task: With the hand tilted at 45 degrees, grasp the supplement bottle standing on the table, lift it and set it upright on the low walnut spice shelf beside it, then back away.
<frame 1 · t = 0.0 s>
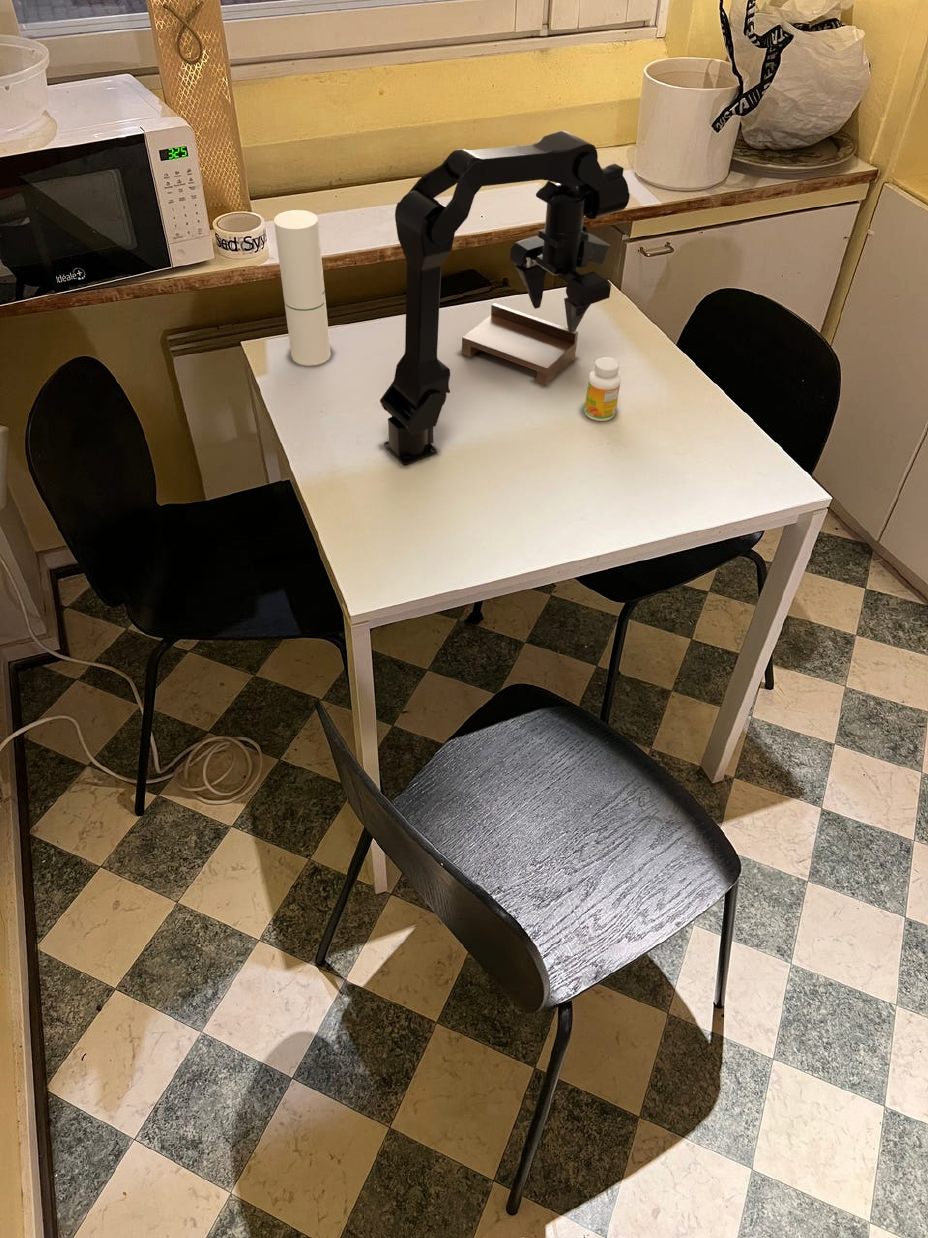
hand: (554, 319, 150), 15 cm above the table, tool pointing down, fingers open, 9 cm apart
supplement bottle: (599, 413, 158), on the table
cylindrical container: (311, 355, 168), on the table
shelf: (518, 356, 169), on the table
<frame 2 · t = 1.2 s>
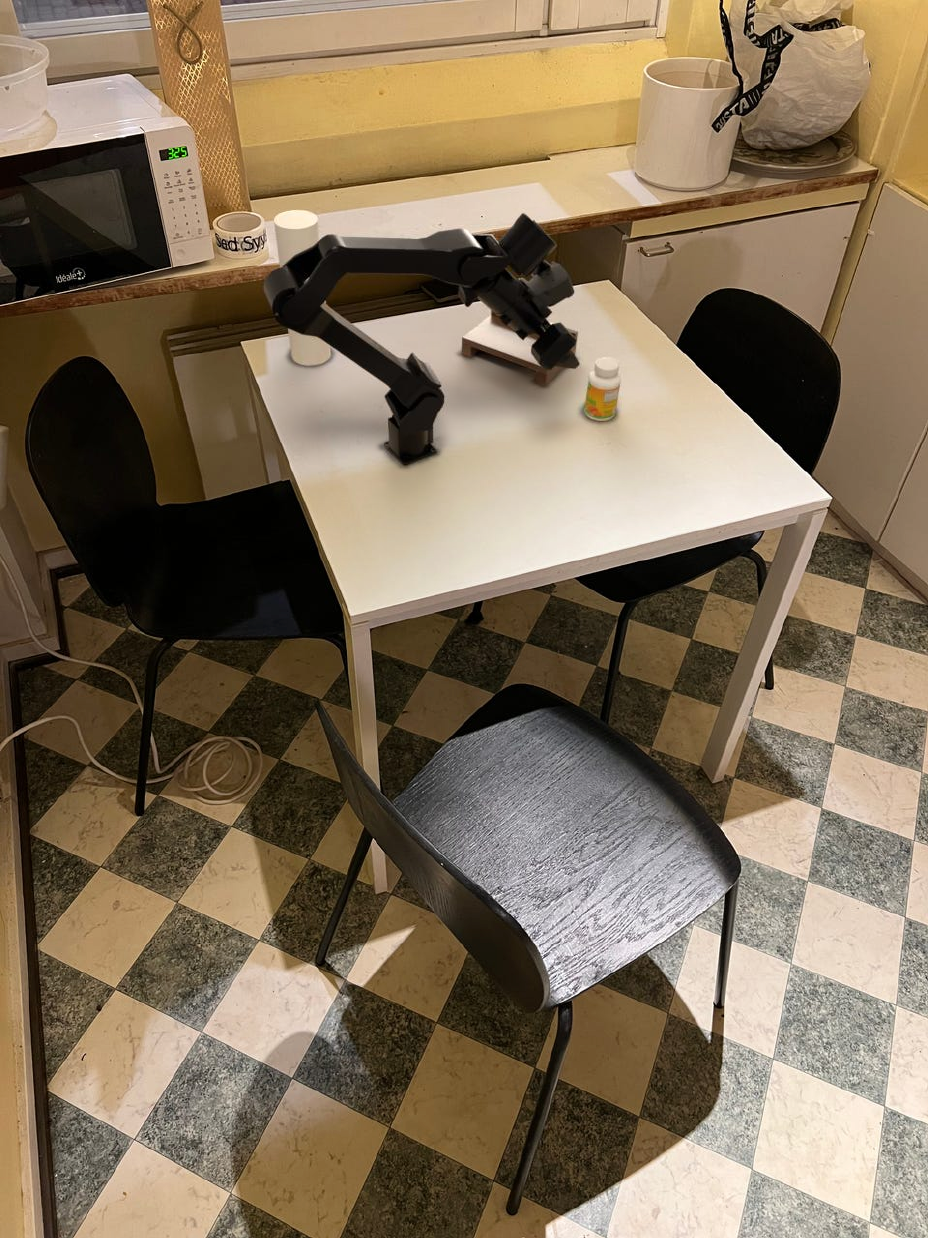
hand: (565, 350, 146), 13 cm above the table, tool tilted 45°, fingers open, 9 cm apart
nothing on the table moved.
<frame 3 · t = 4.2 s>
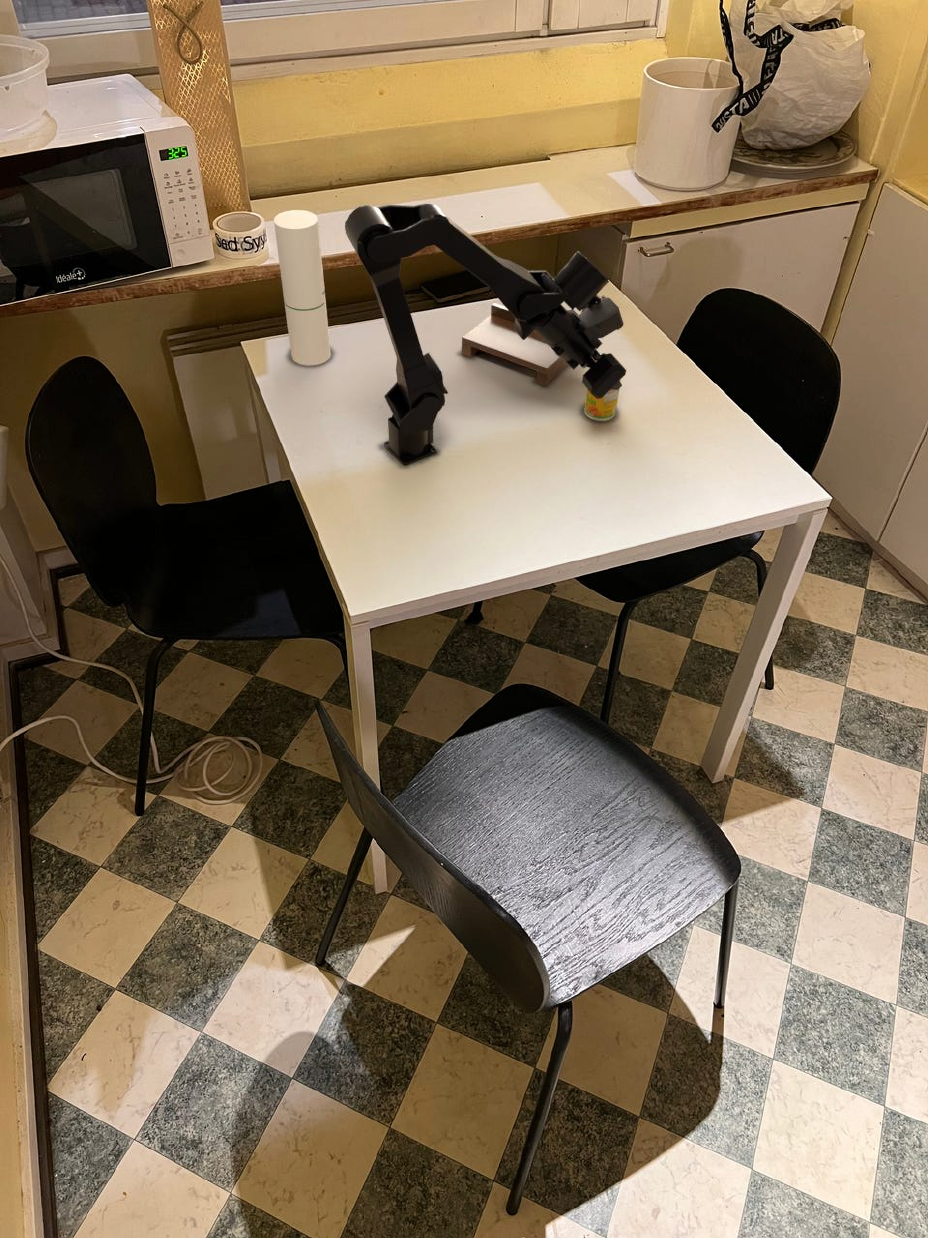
hand: (612, 378, 153), 7 cm above the table, tool tilted 45°, fingers closed on supplement bottle, 5 cm apart
supplement bottle: (599, 413, 158), on the table, touching gripper
everything else where it was.
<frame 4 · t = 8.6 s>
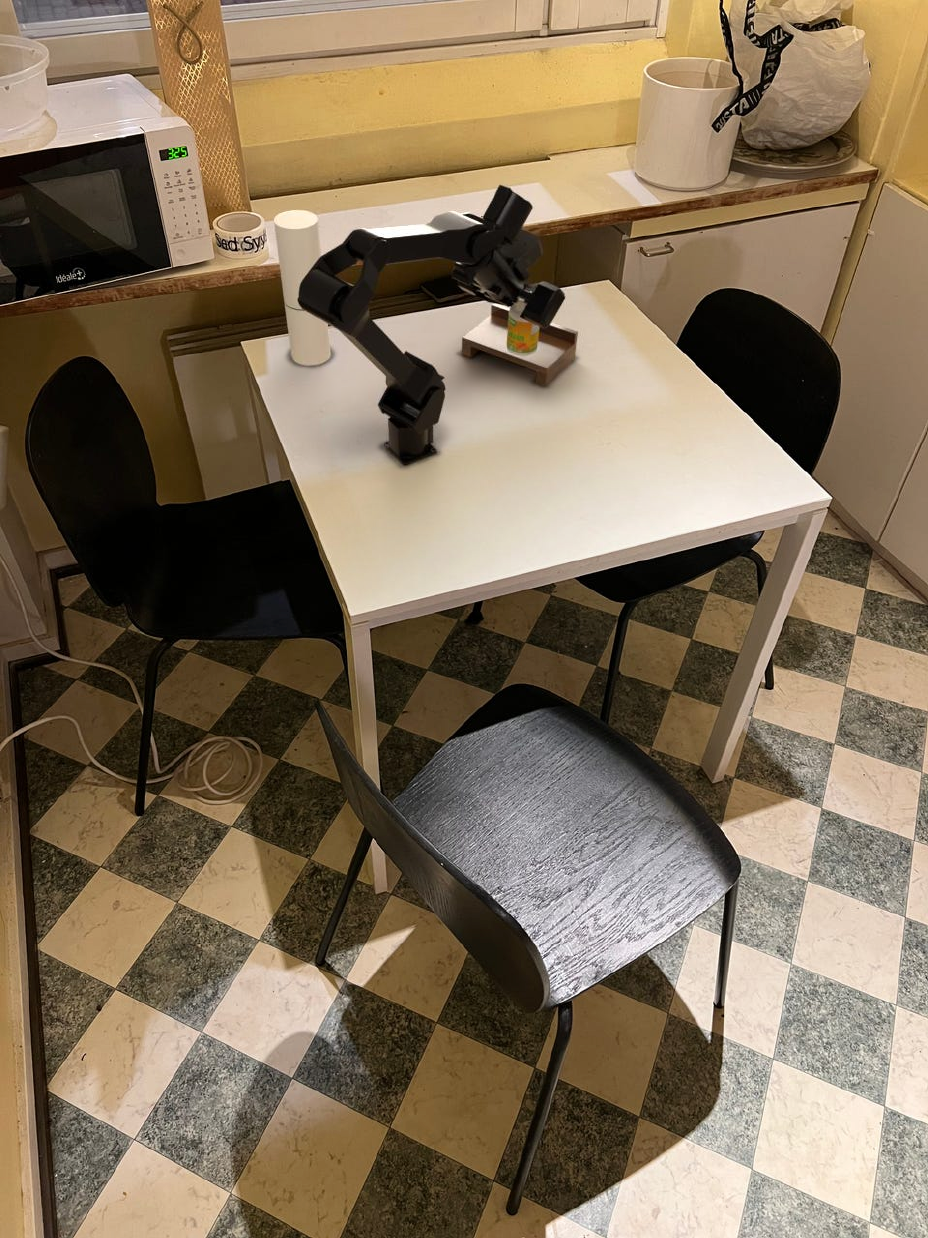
hand: (529, 310, 154), 13 cm above the table, tool tilted 45°, fingers closed on supplement bottle, 5 cm apart
supplement bottle: (521, 349, 158), point 7 cm above the table, touching gripper
everything else where it was.
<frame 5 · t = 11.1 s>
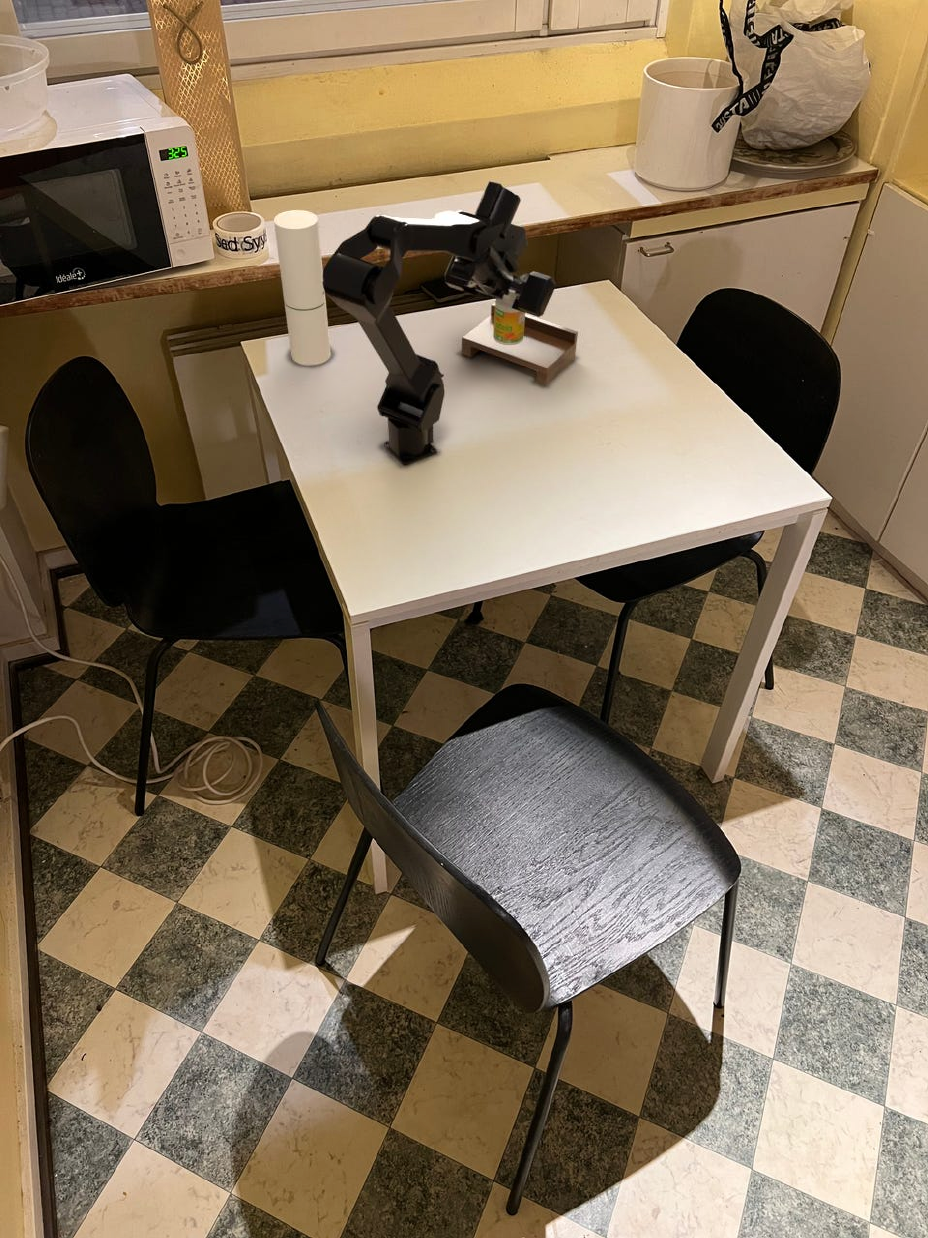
hand: (514, 300, 158), 12 cm above the table, tool tilted 45°, fingers closed on supplement bottle, 5 cm apart
supplement bottle: (508, 339, 163), point 6 cm above the table, touching gripper
everything else where it was.
when the fingers open (10 cm above the table, at t = 13.0 s): supplement bottle stays where it is, resting on shelf.
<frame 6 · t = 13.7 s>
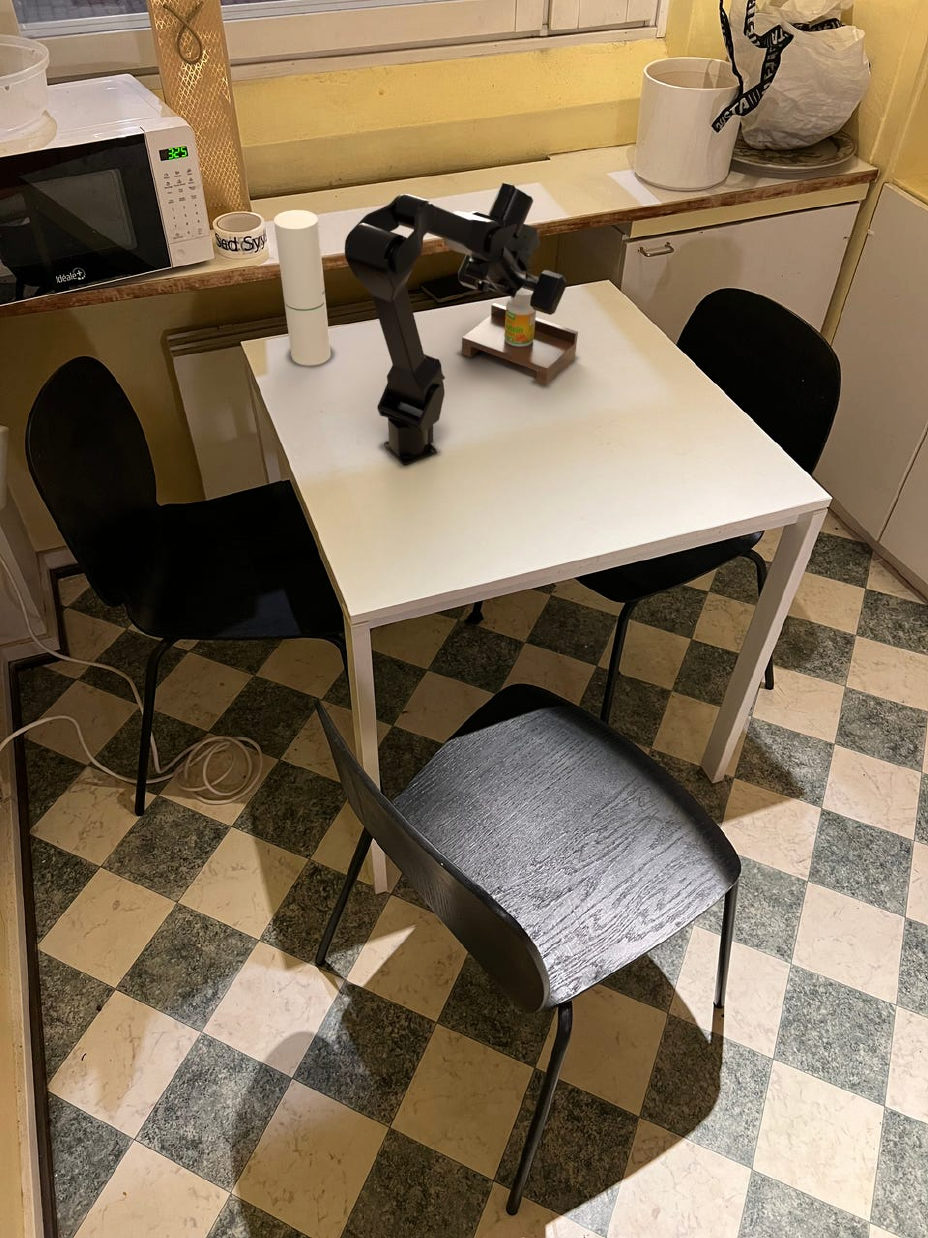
hand: (526, 298, 162), 11 cm above the table, tool tilted 45°, fingers open, 9 cm apart
supplement bottle: (518, 340, 167), point 3 cm above the table, touching shelf
everything else where it was.
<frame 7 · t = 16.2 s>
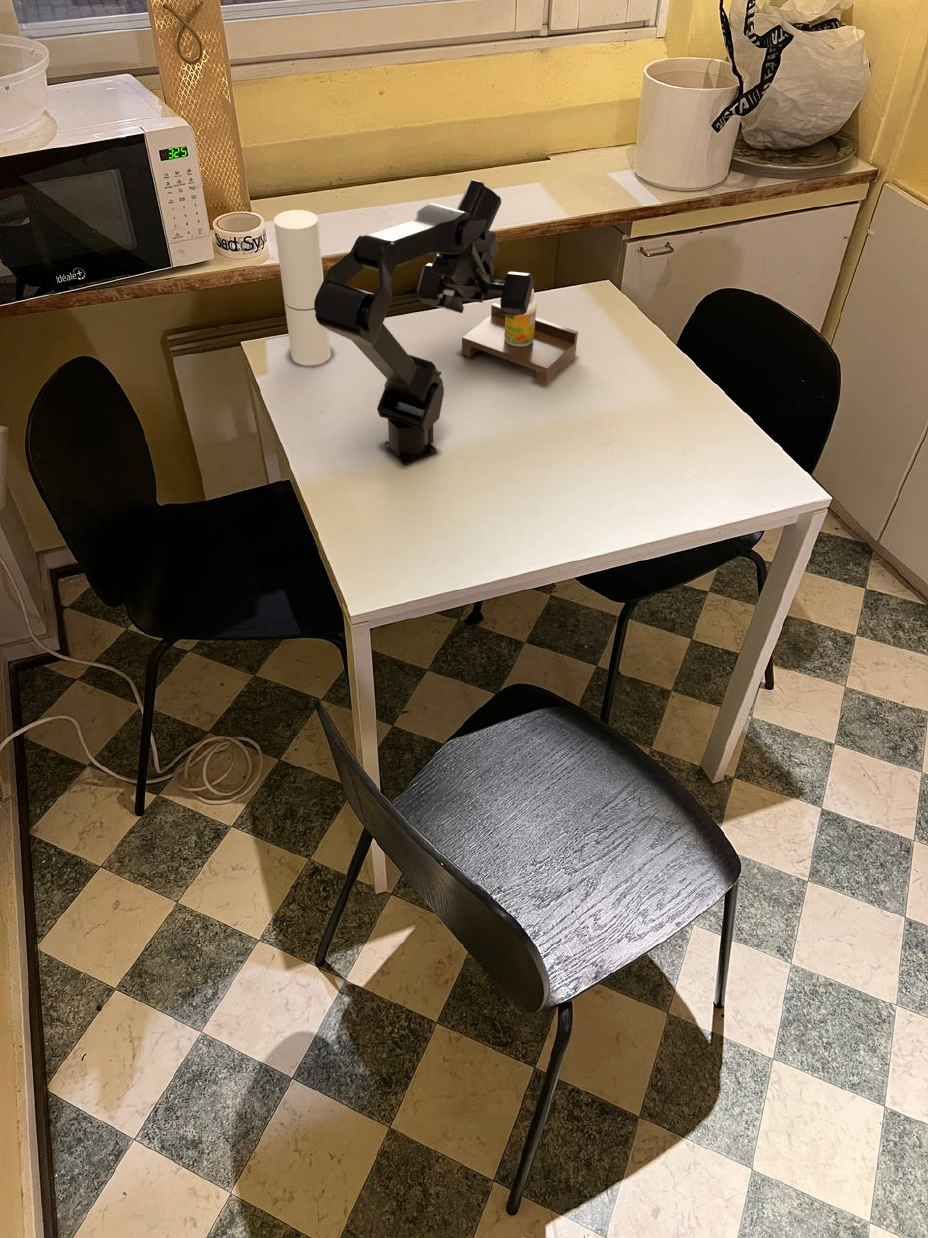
hand: (487, 313, 156), 12 cm above the table, tool tilted 35°, fingers open, 9 cm apart
nothing on the table moved.
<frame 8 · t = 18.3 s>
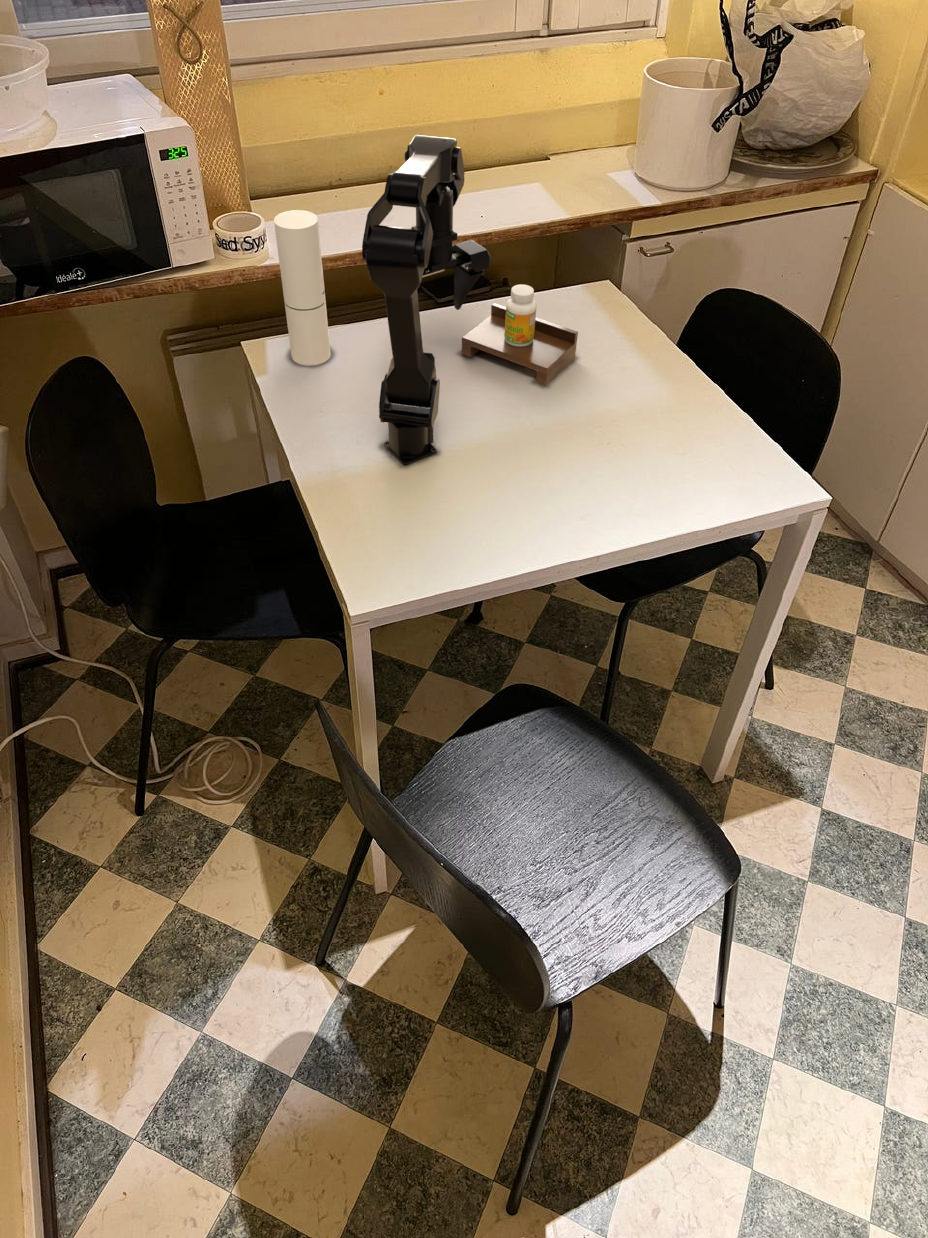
hand: (434, 316, 153), 13 cm above the table, tool pointing down, fingers open, 9 cm apart
nothing on the table moved.
at the end: supplement bottle inside the target area on the shelf (0.2 cm from its centre), point 3.3 cm above the shelf's base; supplement bottle tilted 0°; the gripper is holding nothing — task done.
